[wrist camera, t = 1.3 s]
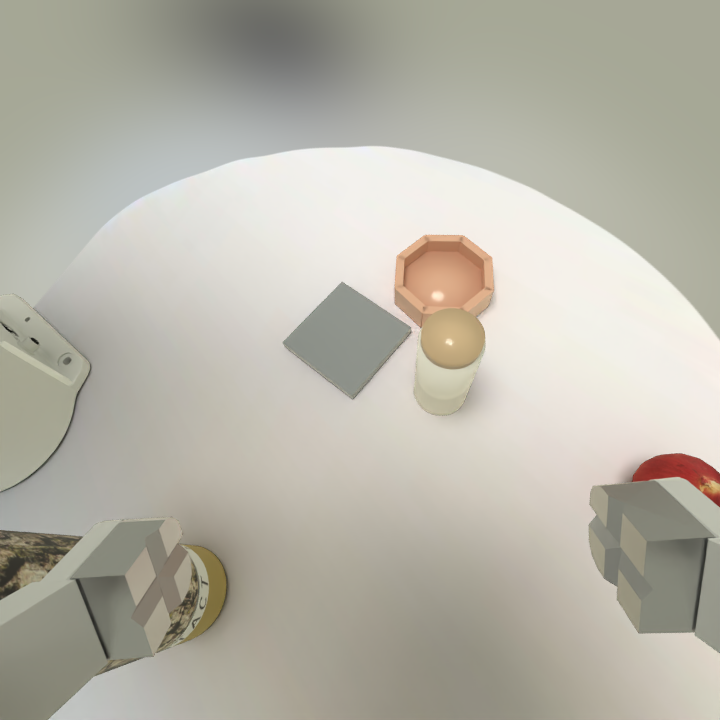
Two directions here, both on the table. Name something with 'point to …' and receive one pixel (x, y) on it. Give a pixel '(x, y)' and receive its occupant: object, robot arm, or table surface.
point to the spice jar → (447, 360)
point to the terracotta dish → (442, 277)
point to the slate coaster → (347, 339)
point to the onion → (682, 473)
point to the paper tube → (43, 551)
